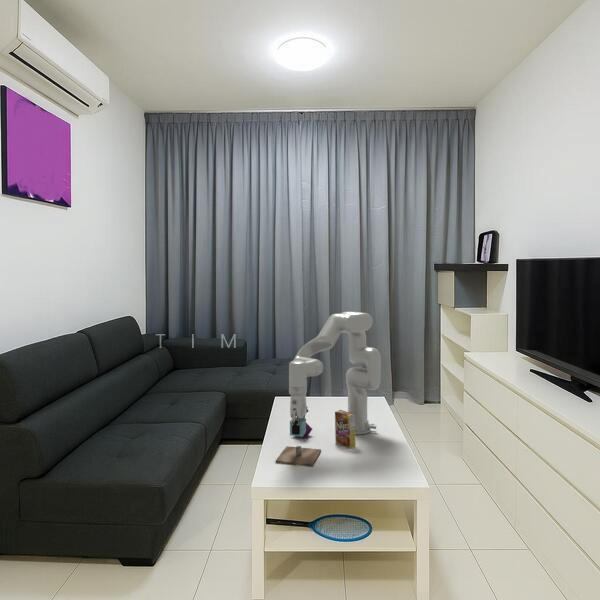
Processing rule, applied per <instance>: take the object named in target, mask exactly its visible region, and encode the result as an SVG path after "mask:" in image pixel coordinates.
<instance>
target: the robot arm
mask: <svg viewBox="0 0 600 600" xmlns="http://www.w3.org/2000/svg"><path fill="white" fill-rule="evenodd" d="M372 326H373V317H372V315H371V314H370V313H368V312H360V311H359V312H358V311H343V312H341V313H333V314H331V315H330V316H329V317H328V319H327V320H326V322H325V324H324V325H323V327H322V329H321V330H320V332H319V333H318V334H317V336H316V337H315V338H312V339H311V340H310V341H308V342H307V343H305V344H304V345H302V347H300V348H299V350H298V352H297V354H296V355H295V356H294V358H293V360H291V361H290V362H289V364H288V380H289V381H288V393H289V395H290V402H289V403H290V406H289V407H290V408H289V415H290V418H291V420H292V434H296V435H299V434H300V425H299V418H300V419H301V418H304V415H305V414H307V413H308V412H307V410H308V408H306V406H307V394H308V393H307V392H308V391H307V389H308V388H307V387H308V384H307V383H308V381H307V378H310V377H318V376H320V375H321V374H322V373H323V370H324V364H323V362H322V361H321V360H320V359H317V358H311V357H312V356H313V355H316V354H318V353H320V352H325V351H327V350H330V349H333V347H334V346H335V345H336V342H337V341H338V340H339V339H340V338H339V337H341V334H342V333H347V335H348V358H349V362H350V363H351V364H352V365H356V366H361V367H355V366H353V367H349V369H347V371H346V373H345V382H346V388H347V412H350V413H353V414H355V435H366V434H368V433H370V432H371V429H372V430H377V424H375V423H370V422H369V419H368V393H367V390H369V391H375V390H377V389H378V388H379V387H380V384H381V379H382V377H381V375H382V358H381V353H380V351H379V350H378V349H377V348H375V347H371V346H368V345H367V335H366V331H368V330H370V329H371V327H372ZM363 367H366V368H363ZM306 412H307V413H306ZM305 416H306V415H305ZM296 419H297V420H296Z"/></svg>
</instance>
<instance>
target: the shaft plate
mask: <svg viewBox="0 0 600 600" xmlns="http://www.w3.org/2000/svg"><path fill="white" fill-rule="evenodd" d="M321 453H322V449H321V448H312V447H311V448H308V447H302V446H301V445H296V446H290V445H289V446H288V445H287V446H285V447H284V449H283V450H282V452H281V453H280V454H279V456H278V457H277V458H276V459H275V460H274V462H275V464H280V463H281V464H282V465H291V466H300V467H301V466H302V467H311V468H312V467H314V466H315V464H316V463H317V460H318V458H319V457H320V455H321Z"/></svg>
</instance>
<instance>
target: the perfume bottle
mask: <svg viewBox="0 0 600 600" xmlns="http://www.w3.org/2000/svg"><path fill="white" fill-rule="evenodd" d="M306 408H307V412H306V414H307V413H308V412H309V409H308V406H307V405H306ZM306 414H305V415H304V418H306ZM312 431H313V428H312V427H311V426H310V425H309V424H308V423H307V422H306V433H305V434H304V436H303V437H301V436H295V437H297V438H299V439H305V438H306V437H308V436H309V435H310V434H311V432H312Z"/></svg>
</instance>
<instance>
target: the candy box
mask: <svg viewBox="0 0 600 600" xmlns="http://www.w3.org/2000/svg"><path fill="white" fill-rule="evenodd" d="M334 429H335V430H334V433H335V435H334V437H335V438H334V439H335V444H336V445H338V446H339V445H340V446H343V447H345V448H348V449H352V448H354V447H356V434H355V414H353V413H350V412H348V411H345V410H342V409H339V410H335V411H334Z"/></svg>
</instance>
